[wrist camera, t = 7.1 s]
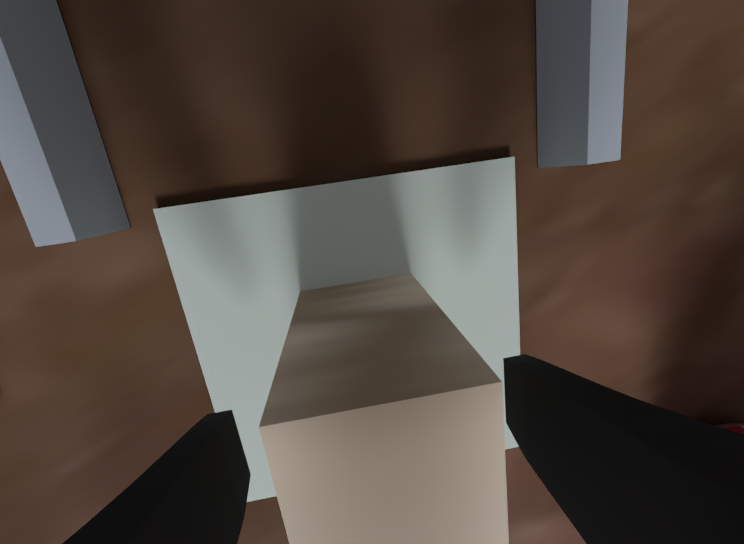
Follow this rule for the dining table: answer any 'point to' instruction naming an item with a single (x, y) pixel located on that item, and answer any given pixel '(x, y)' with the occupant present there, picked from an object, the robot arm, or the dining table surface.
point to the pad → (340, 271)
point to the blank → (384, 422)
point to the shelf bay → (92, 168)
